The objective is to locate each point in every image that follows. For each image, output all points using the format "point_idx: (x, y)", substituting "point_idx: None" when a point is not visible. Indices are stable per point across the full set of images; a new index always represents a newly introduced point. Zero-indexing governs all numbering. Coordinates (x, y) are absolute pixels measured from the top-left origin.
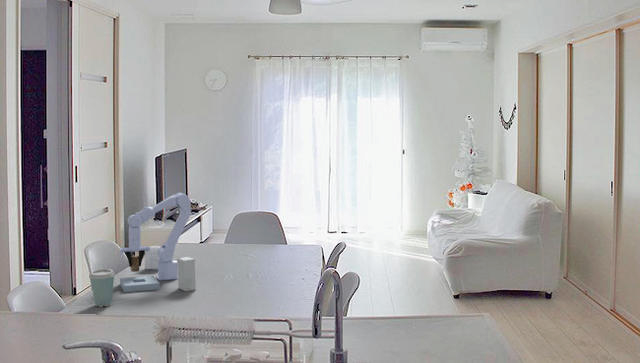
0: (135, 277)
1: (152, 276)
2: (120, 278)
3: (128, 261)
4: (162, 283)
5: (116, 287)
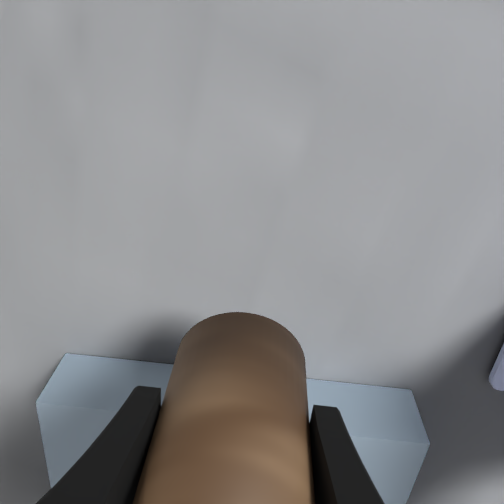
0: None
1: (407, 463)
2: (43, 407)
3: (87, 458)
4: (455, 466)
5: (32, 426)
